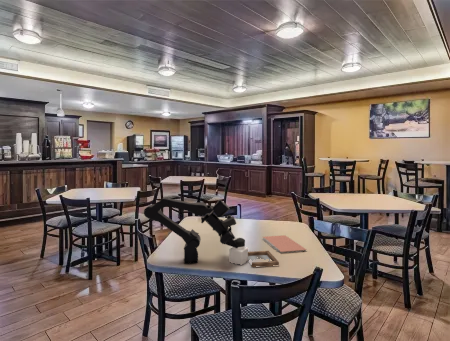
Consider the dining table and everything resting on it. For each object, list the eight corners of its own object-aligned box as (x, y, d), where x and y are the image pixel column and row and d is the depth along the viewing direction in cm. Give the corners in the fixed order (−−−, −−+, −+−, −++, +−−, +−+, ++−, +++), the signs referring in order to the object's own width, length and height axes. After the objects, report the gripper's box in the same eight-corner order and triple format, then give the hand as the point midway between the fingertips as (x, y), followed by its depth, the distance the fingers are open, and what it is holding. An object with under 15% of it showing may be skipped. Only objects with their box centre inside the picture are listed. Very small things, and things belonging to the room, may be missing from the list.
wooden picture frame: (252, 267, 142) (252, 263, 142) (244, 255, 157) (244, 251, 157) (278, 266, 144) (278, 262, 144) (268, 254, 160) (268, 250, 160)
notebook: (260, 239, 187) (260, 236, 187) (285, 237, 191) (285, 234, 191) (279, 254, 161) (279, 251, 161) (306, 252, 165) (306, 249, 165)
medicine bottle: (247, 261, 150) (248, 238, 149) (241, 265, 144) (242, 241, 143) (235, 258, 154) (236, 235, 153) (228, 262, 147) (229, 239, 146)
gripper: (227, 216, 137) (250, 239, 138) (226, 207, 156) (246, 228, 157) (210, 232, 138) (233, 255, 139) (211, 222, 156) (231, 242, 157)
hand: (237, 244), depth 148 cm, fingers open, 9 cm apart
